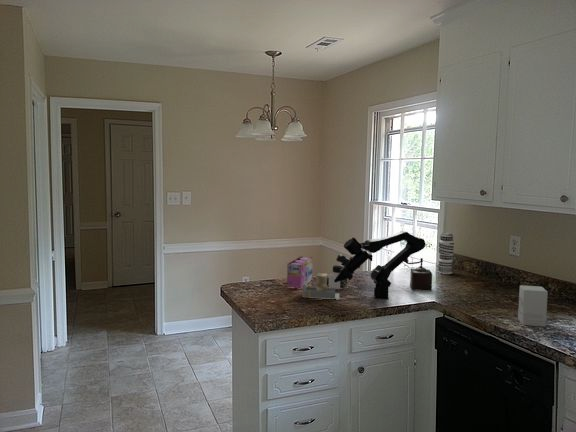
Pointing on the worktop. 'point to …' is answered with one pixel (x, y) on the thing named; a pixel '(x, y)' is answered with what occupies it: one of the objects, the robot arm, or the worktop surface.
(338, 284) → the medicine bottle
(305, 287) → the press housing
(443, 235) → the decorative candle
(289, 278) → the gum box
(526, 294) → the supplement box
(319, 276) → the beige cube with disc
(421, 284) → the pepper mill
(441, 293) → the worktop surface
